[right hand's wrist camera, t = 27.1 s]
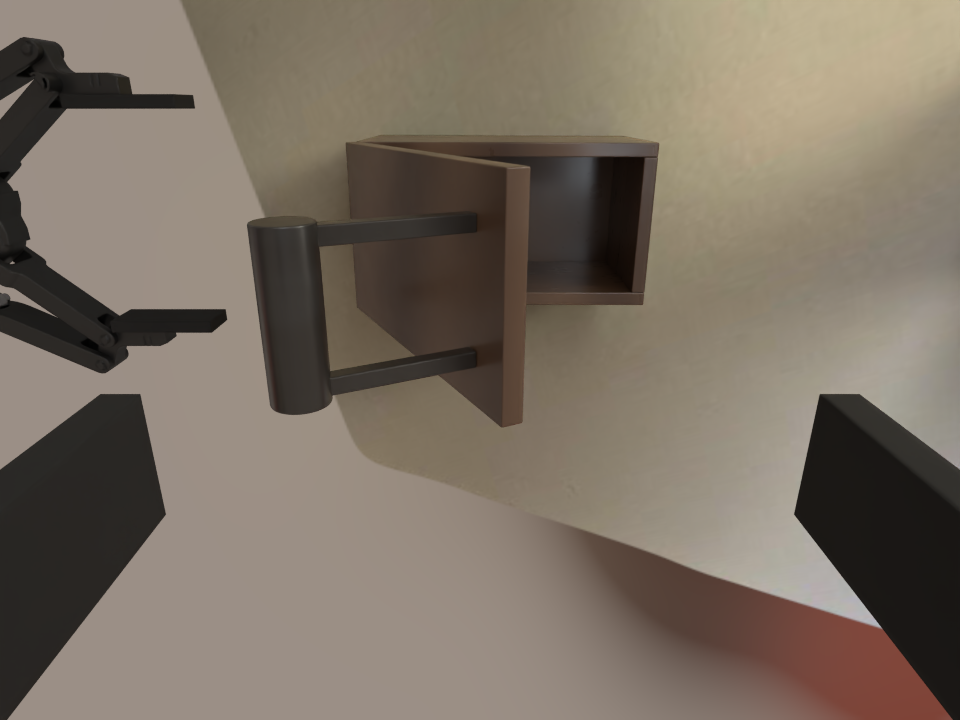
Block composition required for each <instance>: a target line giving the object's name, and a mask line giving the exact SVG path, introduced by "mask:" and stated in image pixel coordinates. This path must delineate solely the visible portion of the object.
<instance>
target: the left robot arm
mask: <svg viewBox="0 0 960 720" xmlns="http://www.w3.org/2000/svg"><path fill="white" fill-rule="evenodd" d="M33 79H34V80H33ZM32 80H33V81H32ZM30 81H32V83H31V84H30V85H29V86H28V87H27V88H26V90H25V91H24V92H23V93H22V94H21V96H20V97H19V98H18V99H17V100H16V102H15V103H14V104H13V105H12V106H11V108H10V109H9V110H8V111H7V112H6V113H5V115H4V116H3V117H2V118H1V119H0V285H2V286H5V287H10V288H14V289H16V290H18V291H19V292H21V293H22V294H24V295H25V296H26V297H28V298H29V299H31V300H32V301H34V302H35V303H37V304H38V305H40V306H41V307H43V308H44V309H46V310H47V311H49V312H50V313H52V314H53V315H55V316H56V317H55V316H52V315H50V314H48V313H45V312H43V311H41V310H38V309H36V308H33V307H31V306H29V305H26V304H23V303H19V302H15V301H10V296H9V295H8V294H5V293H4V294H2V293H0V332H2V333H5V334H7V335H10V336H12V337H14V338H17V339H19V340H22V341H24V342H27V343H29V344H31V345H34V346H36V347H39V348H41V349H43V350H46V351H48V352H51V353H53V354H55V355H58V356H60V357H63V358H65V359H67V360H70V361H72V362H75V363H77V364H79V365H82V366H84V367H87V368H89V369H91V370H94V371H96V372H99V373H106V372H108V371H109V370H111V369H112V368H114V367H115V366H117V365H118V364H119V363H121V362H122V361H124V360H125V359H126V358H127V357H128V350H127V349H126V347H127V346H161V345H164V344H166V343H168V342H169V341H171V340H172V339H173V338H175V337H176V333H211V332H213V331H214V330H215V329H217V328H218V327H219V326H220V325H221V324H223V323H224V322H225V321H226V320H227V316H226V310H225V309H131V310H129V311H127V312H126V313H124V314H122V315H120V316H119V315H118V314H116V313H115V312H113V311H112V310H110V309H109V308H107V307H106V306H105V305H103V304H102V303H100V302H99V301H97V300H96V299H94V298H93V297H91V296H90V295H89V294H87V293H86V292H84V291H83V290H81V289H80V288H78V287H77V286H76V285H74V284H73V283H71V282H70V281H68V280H67V279H65V278H64V277H62V276H61V275H60V274H58V273H57V272H55V271H54V270H52V269H51V268H49V267H48V266H47V265H46V261H45V259H43V258H42V257H41V256H39V255H38V254H36V253H35V252H33V251H32V250H31V249H29V248H28V247H26V240H30V236H29V232H28V229H27V226H26V224H25V223H24V221H23V219H22V217H21V201H20V198H19V194H18V191H13V189H12V188H11V186H10V185H9V184H8V183H7V181H8V180H9V179H10V178H11V177H12V176H13V175H14V173H15V172H16V171H17V170H18V169H19V168H20V166H21V160H22V159H23V158H24V157H25V156H26V154H27V153H28V152H29V151H30V150H31V149H32V147H33V146H34V145H35V144H36V143H37V142H38V141H39V140H40V138H41V137H42V136H43V135H44V134H45V133H46V132H47V130H48V129H49V128H50V127H51V126H52V125H53V124H54V122H55V121H56V120H57V119H58V118H59V117H60V116H61V114H62V113H63V112H64V111H65V110H66V109H87V108H88V109H90V108H91V109H92V108H93V109H95V108H97V109H98V108H99V109H100V108H101V109H102V108H103V109H107V108H111V109H112V108H113V109H116V108H120V109H124V108H126V109H130V108H134V109H136V108H137V109H138V108H139V109H140V108H141V109H143V108H144V109H145V108H195V106H194V99H193V95H176V94H132V90H131V85H130V80H129V77H126V76H124V75H121V74H114V73H75V72H73V71H72V70H71V69H70V68H69V67H68V66H67V65H66V63H65V61H64V51H63V49H62V47H61V46H60V45H59V44H58V43H56V42H53V41H47V40H41V39H34V38H26V37H23V38H20V39H18V40H17V41H15V42H14V43H12V44H10V45H9V46H7V47H6V48H4V49H3V50H1V51H0V100H1V99H3V98H5V97H6V96H8V95H9V94H11V93H13V92H14V91H16V90H17V89H19V88H21V87H22V86H24V85H25V84H27V83H29V82H30ZM12 261H13V262H15V264H10V263H11V262H12ZM57 317H58V318H57Z"/></svg>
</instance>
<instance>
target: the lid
mask: <svg viewBox="0 0 960 720" xmlns="http://www.w3.org/2000/svg"><path fill="white" fill-rule="evenodd" d="M346 154H347V168H348V183H349V197H350V212H351V220H338V221H324V222H317V221H316V220H315V219H312V218H308V217H297V216H283V217H268V218H261V219H256V220H252V221H250V222H248V224H247V228H248V236H249V244H250V252H251V260H252V267H253V275H254V283H255V291H256V299H257V306H258V314H259V322H260V330H261V337H262V345H263V353H264V361H265V369H266V376H267V384H268V392H269V400H270V406H271V408H272V409H273V410H274V411H276V412H278V413H282V414H288V415H300V414H308V413H312V412H316V411H319V410H321V409H323V408H325V407H327V406H328V405H329V404H330V403H331V401H332V396H333V395H338V394H343V393H348V392H353V391H358V390H363V389H368V388H373V387H379V386H384V385H389V384H394V383H399V382H404V381H409V380H414V379H420V378H425V377H430V376H435V375H439V376H440V377H442V378H443V379H444V380H445V381H446V382H448V383H449V384H450V385H451V386H452V387H454V388H455V389H456V390H457V391H458V392H460V393H461V394H462V395H463V396H464V397H466V398H467V399H468V400H469V401H470V402H472V403H473V404H474V405H475V406H476V407H478V408H479V409H480V410H481V411H482V412H484V413H485V414H486V415H487V416H488V417H490V418H491V419H492V420H493V421H494V422H496V423H497V424H498V425H499V426H500V427H507V426H511V425H515V424H519V423H522V420H523V388H524V356H525V324H526V292H527V261H528V229H529V197H530V166H524V165H518V164H511V163H504V162H497V161H490V160H483V159H476V158H469V157H462V156H455V155H448V154H441V153H434V152H427V151H420V150H413V149H406V148H399V147H392V146H385V145H379V144H372V143H365V142H346ZM344 244H353V255H354V269H355V284H356V298H357V308H359V309H360V310H361V311H362V312H363V313H365V314H366V315H367V316H368V317H369V318H371V319H372V320H373V321H374V322H375V323H377V324H378V325H379V326H380V327H381V328H383V329H384V330H385V331H386V332H387V333H389V334H390V335H391V336H392V337H393V338H395V339H396V340H397V341H398V342H399V343H401V344H402V345H403V346H404V347H405V348H407V349H408V350H409V351H410V352H411V353H413V354H414V355H415V356H413V357H408V358H402V359H397V360H391V361H385V362H380V363H374V364H369V365H363V366H357V367H352V368H346V369H341V370H335V371H330V364H329V353H328V342H327V330H326V319H325V308H324V297H323V285H322V274H321V263H320V251H319V247H323V246H333V245H344Z"/></svg>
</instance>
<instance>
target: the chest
mask: <svg viewBox="0 0 960 720" xmlns="http://www.w3.org/2000/svg"><path fill="white" fill-rule="evenodd" d="M357 142H365V143H372V144H379V145H385V146H392V147H399V148H406V149H413V150H420V151H427V152H434V153H441V154H448V155H455V156H462V157H469V158H476V159H483V160H490V161H497V162H504V163H511V164H518V165H524V166H530V197H529V229H528V261H527V292H526V304H551V305H643V300H644V290H645V280H646V270H647V260H648V250H649V240H650V230H651V220H652V210H653V201H654V191H655V181H656V171H657V161H658V158H657V157H658V151H659V143H656V142H651V141H646V140H641V139H636V138H631V137H625V136H466V135H379V136H376V137H372V138H368V139H365V140H361V141H357Z"/></svg>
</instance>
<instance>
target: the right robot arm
mask: <svg viewBox="0 0 960 720" xmlns="http://www.w3.org/2000/svg"><path fill="white" fill-rule="evenodd" d="M165 515H166V513H165V508H164V504H163V499H162V494H161V490H160V485H159V480H158V475H157V471H156V466H155V461H154V457H153V452H152V447H151V443H150V438H149V433H148V428H147V424H146V419H145V415H144V410H143V405H142V401H141V396H140V394H100V395H99V396H98V397H96V398H95V399H94V400H92V401H91V402H90V403H88V404H87V405H86V406H84V407H83V408H82V409H80V410H79V411H78V412H76V413H75V414H74V415H72V416H71V417H70V418H68V419H67V420H66V421H64V422H63V423H62V424H60V425H59V426H58V427H56V428H55V429H54V430H52V431H51V432H50V433H48V434H47V435H46V436H44V437H43V438H42V439H40V440H39V441H38V442H36V443H35V444H34V445H33V446H31V447H30V448H29V449H27V450H26V451H25V452H23V453H22V454H21V455H19V456H18V457H17V458H15V459H14V460H13V461H11V462H10V463H9V464H7V465H6V466H5V467H3V468H2V469H1V470H0V720H7V719H8V718H9V716H10V715H11V714H12V713H13V711H14V710H15V709H16V707H17V706H18V705H19V704H20V702H21V701H22V700H23V698H24V697H25V696H26V695H27V693H28V692H29V691H30V689H31V688H32V687H33V685H34V684H35V683H36V682H37V680H38V679H39V678H40V676H41V675H42V674H43V673H44V671H45V670H46V669H47V667H48V666H49V665H50V664H51V662H52V661H53V660H54V658H55V657H56V656H57V654H58V653H59V652H60V651H61V649H62V648H63V647H64V645H65V644H66V643H67V642H68V640H69V639H70V638H71V636H72V635H73V634H74V633H75V631H76V630H77V629H78V627H79V626H80V625H81V623H82V622H83V621H84V620H85V618H86V617H87V616H88V614H89V613H90V612H91V611H92V609H93V608H94V607H95V605H96V604H97V603H98V602H99V600H100V599H101V598H102V596H103V595H104V594H105V592H106V591H107V590H108V589H109V587H110V586H111V585H112V583H113V582H114V581H115V580H116V578H117V577H118V576H119V574H120V573H121V572H122V570H123V569H124V568H125V567H126V565H127V564H128V563H129V561H130V560H131V559H132V558H133V556H134V555H135V554H136V552H137V551H138V550H139V548H140V547H141V546H142V545H143V543H144V542H145V541H146V539H147V538H148V537H149V536H150V534H151V533H152V532H153V530H154V529H155V528H156V526H157V525H158V524H159V523H160V521H161V520H162V519H163V518H164V516H165ZM794 515H795V516H796V518H797V519H798V520H799V521H800V523H801V524H802V525H803V527H804V528H805V529H806V530H807V532H808V533H809V534H810V536H811V537H812V538H813V539H814V541H815V542H816V543H817V545H818V546H819V547H820V549H821V550H822V551H823V552H824V554H825V555H826V556H827V558H828V559H829V560H830V561H831V563H832V564H833V565H834V567H835V568H836V569H837V570H838V572H839V573H840V574H841V576H842V577H843V578H844V580H845V581H846V582H847V583H848V585H849V586H850V587H851V589H852V590H853V591H854V592H855V594H856V595H857V596H858V598H859V599H860V600H861V602H862V603H863V604H864V605H865V607H866V608H867V609H868V611H869V612H870V613H871V614H872V616H873V617H874V618H875V620H876V621H877V622H878V623H879V625H880V626H881V627H882V629H883V630H884V631H885V633H886V634H887V635H888V636H889V638H890V639H891V640H892V642H893V643H894V644H895V645H896V647H897V648H898V649H899V651H900V652H901V653H902V654H903V656H904V657H905V658H906V660H907V661H908V662H909V664H910V665H911V666H912V667H913V669H914V670H915V671H916V673H917V674H918V675H919V676H920V678H921V679H922V680H923V681H924V683H925V684H926V686H927V687H928V688H929V689H930V691H931V692H932V693H933V695H934V696H935V697H936V698H937V700H938V701H939V702H940V704H941V705H942V706H943V707H944V709H945V710H946V711H947V713H948V714H949V715H950V717H951V718H952V719H953V720H960V470H959V469H958V468H957V467H955V466H954V465H953V464H951V463H950V462H949V461H947V460H946V459H945V458H943V457H942V456H941V455H939V454H938V453H937V452H936V451H934V450H933V449H932V448H930V447H929V446H928V445H926V444H925V443H924V442H922V441H921V440H920V439H918V438H917V437H916V436H914V435H913V434H912V433H910V432H909V431H908V430H906V429H905V428H904V427H902V426H901V425H900V424H898V423H897V422H896V421H894V420H893V419H892V418H890V417H889V416H888V415H886V414H885V413H884V412H882V411H881V410H880V409H878V408H877V407H876V406H874V405H873V404H872V403H870V402H869V401H868V400H866V399H865V398H864V397H862V396H861V395H860V394H820V396H819V400H818V405H817V410H816V414H815V419H814V424H813V428H812V433H811V438H810V443H809V447H808V452H807V457H806V461H805V466H804V471H803V475H802V480H801V485H800V489H799V494H798V499H797V504H796V508H795V513H794Z"/></svg>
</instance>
